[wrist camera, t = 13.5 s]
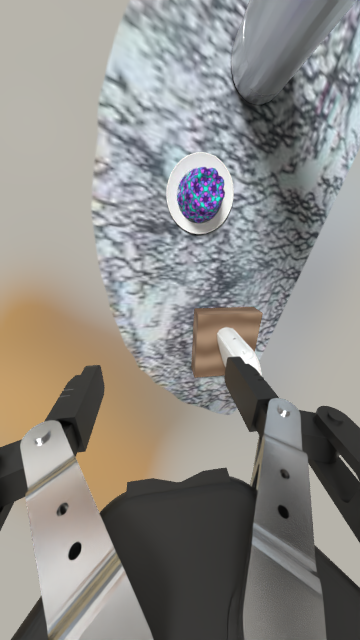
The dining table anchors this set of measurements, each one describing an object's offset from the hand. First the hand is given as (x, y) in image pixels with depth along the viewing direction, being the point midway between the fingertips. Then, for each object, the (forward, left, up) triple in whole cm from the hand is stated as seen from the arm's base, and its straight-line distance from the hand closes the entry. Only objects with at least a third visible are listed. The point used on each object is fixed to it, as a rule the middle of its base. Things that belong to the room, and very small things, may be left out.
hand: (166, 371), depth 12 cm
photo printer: (+14, +15, -24) cm, 32 cm away
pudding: (-15, +8, -29) cm, 33 cm away
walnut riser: (+14, +15, -28) cm, 35 cm away
